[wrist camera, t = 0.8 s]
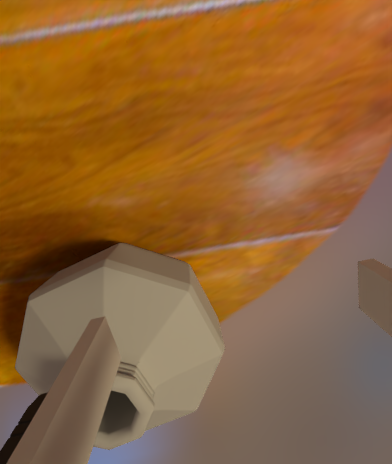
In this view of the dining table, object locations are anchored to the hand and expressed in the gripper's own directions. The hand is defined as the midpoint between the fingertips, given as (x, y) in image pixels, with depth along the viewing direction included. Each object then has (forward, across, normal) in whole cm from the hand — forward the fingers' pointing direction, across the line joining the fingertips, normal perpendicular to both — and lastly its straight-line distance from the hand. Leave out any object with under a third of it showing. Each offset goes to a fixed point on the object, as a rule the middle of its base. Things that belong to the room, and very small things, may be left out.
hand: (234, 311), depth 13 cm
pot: (+27, -15, -15) cm, 34 cm away
